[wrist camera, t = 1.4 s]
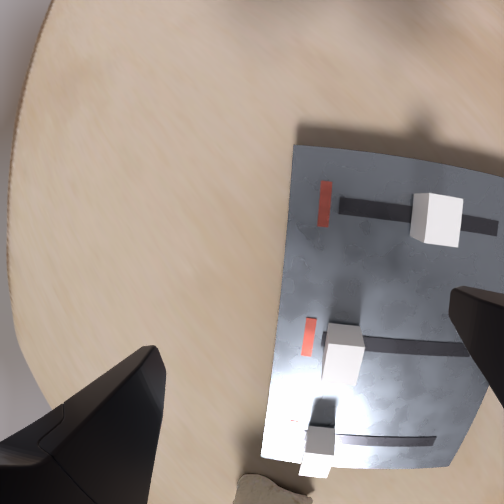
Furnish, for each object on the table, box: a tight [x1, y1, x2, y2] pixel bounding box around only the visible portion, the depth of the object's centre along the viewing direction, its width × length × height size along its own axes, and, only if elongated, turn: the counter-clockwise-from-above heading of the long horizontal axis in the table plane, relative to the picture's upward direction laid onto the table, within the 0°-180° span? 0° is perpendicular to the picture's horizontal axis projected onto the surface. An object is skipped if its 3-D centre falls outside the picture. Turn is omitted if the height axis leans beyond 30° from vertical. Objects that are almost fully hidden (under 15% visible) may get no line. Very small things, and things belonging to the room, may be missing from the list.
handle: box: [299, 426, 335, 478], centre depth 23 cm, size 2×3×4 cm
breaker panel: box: [261, 145, 504, 469], centre depth 23 cm, size 20×28×2 cm
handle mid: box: [321, 323, 365, 386], centre depth 21 cm, size 2×3×4 cm
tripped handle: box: [410, 193, 463, 248], centre depth 19 cm, size 2×3×4 cm
